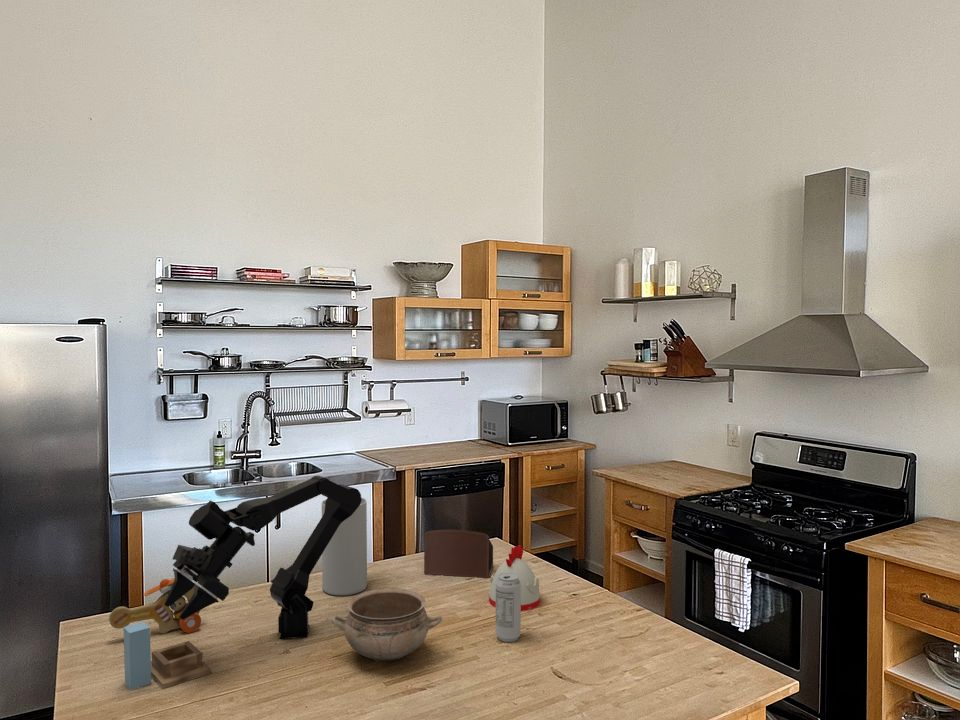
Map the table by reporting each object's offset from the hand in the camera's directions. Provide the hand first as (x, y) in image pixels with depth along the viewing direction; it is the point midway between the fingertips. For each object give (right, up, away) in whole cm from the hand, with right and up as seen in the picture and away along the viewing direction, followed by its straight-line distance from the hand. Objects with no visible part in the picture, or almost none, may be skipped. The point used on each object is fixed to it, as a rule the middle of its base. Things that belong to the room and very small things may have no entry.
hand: (173, 612), depth 154 cm
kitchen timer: (+76, -12, +40) cm, 87 cm away
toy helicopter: (-11, -12, +20) cm, 26 cm away
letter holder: (+60, -10, +64) cm, 88 cm away
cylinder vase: (+28, -11, +49) cm, 58 cm away
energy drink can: (+73, -13, +18) cm, 76 cm away
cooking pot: (+45, -13, +8) cm, 48 cm away
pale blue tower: (-6, -13, -4) cm, 15 cm away
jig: (0, -13, +1) cm, 13 cm away
